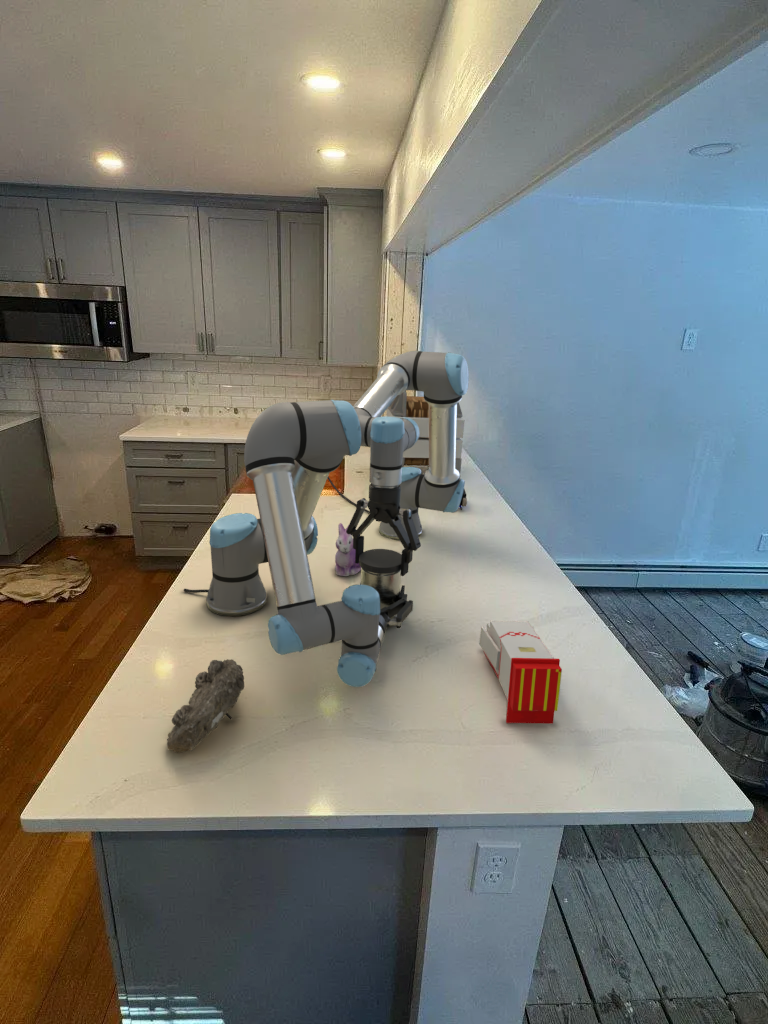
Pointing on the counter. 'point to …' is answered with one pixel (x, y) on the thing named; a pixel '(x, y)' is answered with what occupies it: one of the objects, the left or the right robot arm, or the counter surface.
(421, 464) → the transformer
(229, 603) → the left robot arm
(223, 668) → the fossil
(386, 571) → the lid
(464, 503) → the figurine character
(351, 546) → the figurine
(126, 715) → the counter surface
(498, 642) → the toy
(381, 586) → the jar
